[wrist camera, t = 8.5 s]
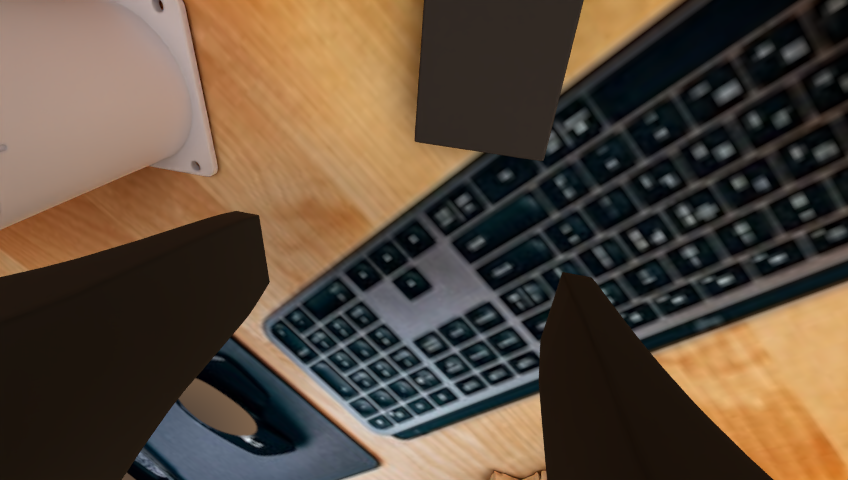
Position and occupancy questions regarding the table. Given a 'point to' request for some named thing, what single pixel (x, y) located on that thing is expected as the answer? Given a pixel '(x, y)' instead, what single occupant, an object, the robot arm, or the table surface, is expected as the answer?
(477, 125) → the pad
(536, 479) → the seated beast figurine
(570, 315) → the robot arm
